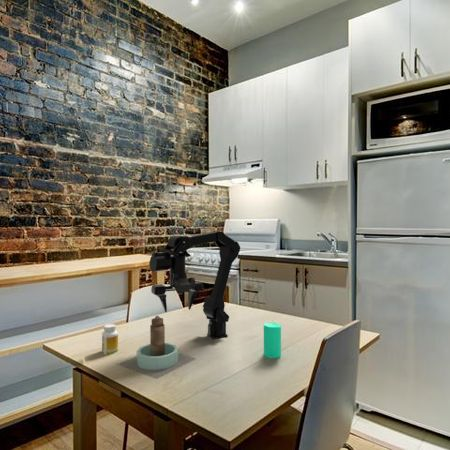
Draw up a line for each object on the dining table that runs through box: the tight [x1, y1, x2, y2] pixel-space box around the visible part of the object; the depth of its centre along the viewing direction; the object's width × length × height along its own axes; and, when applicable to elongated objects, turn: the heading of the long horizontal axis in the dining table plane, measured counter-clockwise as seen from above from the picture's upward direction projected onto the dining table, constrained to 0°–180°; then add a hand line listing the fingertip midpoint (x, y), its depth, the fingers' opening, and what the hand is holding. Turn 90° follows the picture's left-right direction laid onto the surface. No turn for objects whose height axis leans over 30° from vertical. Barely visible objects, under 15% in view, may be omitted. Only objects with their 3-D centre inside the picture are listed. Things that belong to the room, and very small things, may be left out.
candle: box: [263, 320, 282, 359], centre depth 122 cm, size 6×6×12 cm
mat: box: [117, 352, 197, 379], centre depth 115 cm, size 18×18×1 cm
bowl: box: [136, 342, 179, 370], centre depth 115 cm, size 13×13×4 cm
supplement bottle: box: [101, 323, 119, 355], centre depth 124 cm, size 5×5×10 cm
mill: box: [149, 315, 166, 356], centre depth 115 cm, size 5×5×14 cm
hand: (177, 310), depth 131 cm, fingers open, 9 cm apart
